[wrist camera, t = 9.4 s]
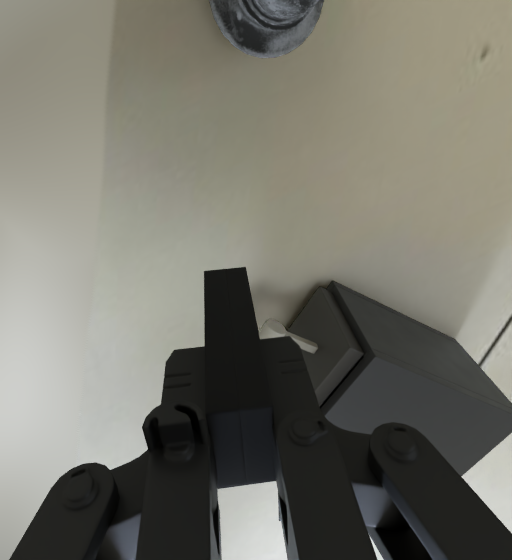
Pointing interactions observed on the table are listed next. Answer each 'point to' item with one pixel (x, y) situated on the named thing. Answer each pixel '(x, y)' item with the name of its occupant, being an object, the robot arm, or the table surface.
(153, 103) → the table surface
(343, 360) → the drawer
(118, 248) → the table surface
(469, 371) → the cabinet
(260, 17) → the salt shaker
